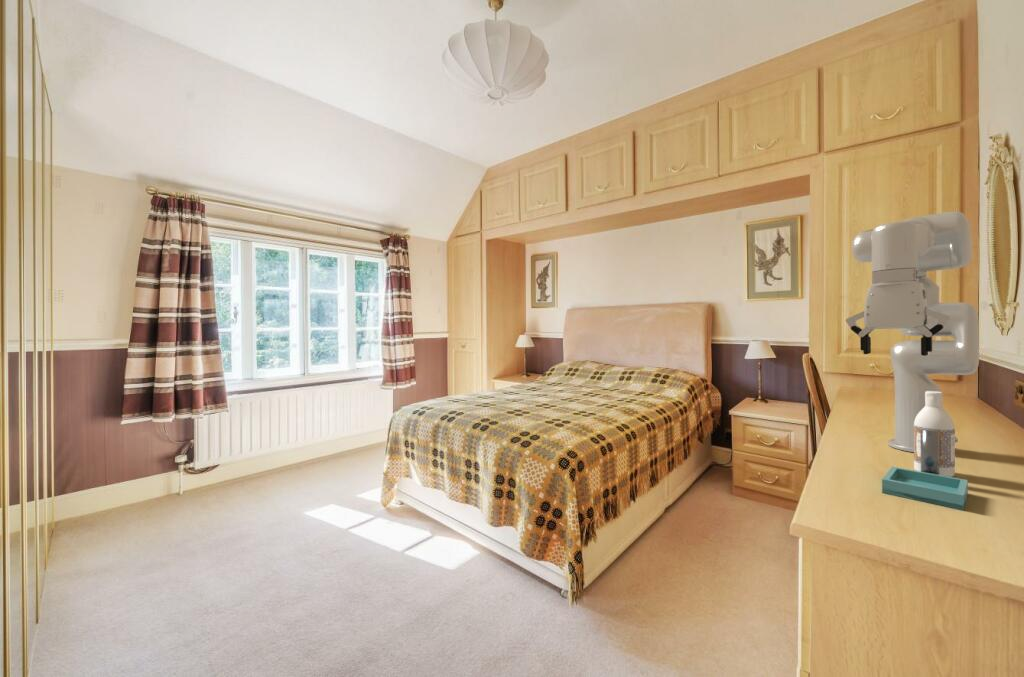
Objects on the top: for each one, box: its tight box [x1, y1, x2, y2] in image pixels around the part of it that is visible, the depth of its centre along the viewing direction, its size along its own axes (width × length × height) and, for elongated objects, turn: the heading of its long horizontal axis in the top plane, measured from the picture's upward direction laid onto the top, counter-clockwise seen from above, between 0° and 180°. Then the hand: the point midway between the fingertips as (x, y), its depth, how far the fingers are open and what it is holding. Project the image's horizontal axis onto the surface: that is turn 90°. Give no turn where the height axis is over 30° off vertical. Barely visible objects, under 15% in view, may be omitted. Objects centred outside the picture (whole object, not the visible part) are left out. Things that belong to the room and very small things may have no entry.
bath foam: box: [913, 391, 956, 477], centre depth 100 cm, size 7×7×20 cm
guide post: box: [921, 429, 939, 475], centre depth 95 cm, size 5×5×12 cm
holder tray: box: [881, 466, 969, 512], centre depth 89 cm, size 12×12×3 cm
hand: (894, 354), depth 93 cm, fingers open, 9 cm apart
